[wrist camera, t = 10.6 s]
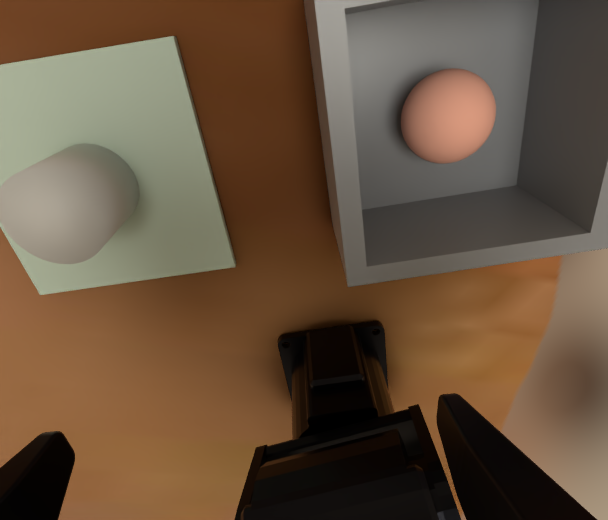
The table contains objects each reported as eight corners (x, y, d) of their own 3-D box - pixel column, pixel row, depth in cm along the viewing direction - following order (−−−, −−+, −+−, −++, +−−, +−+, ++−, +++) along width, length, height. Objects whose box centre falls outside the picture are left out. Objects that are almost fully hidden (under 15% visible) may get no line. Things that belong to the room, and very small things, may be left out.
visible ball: (470, 144, 18) (508, 166, 15) (393, 157, 18) (415, 181, 15) (475, 58, 16) (520, 63, 13) (389, 73, 17) (414, 81, 13)
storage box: (524, 193, 20) (607, 248, 15) (332, 223, 21) (348, 286, 15) (557, -48, 15) (698, -93, 10) (303, -2, 16) (311, -22, 10)
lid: (237, 258, 22) (225, 312, 18) (49, 284, 22) (-7, 344, 18) (179, 36, 17) (141, 35, 12) (-68, 77, 17) (-189, 91, 13)
